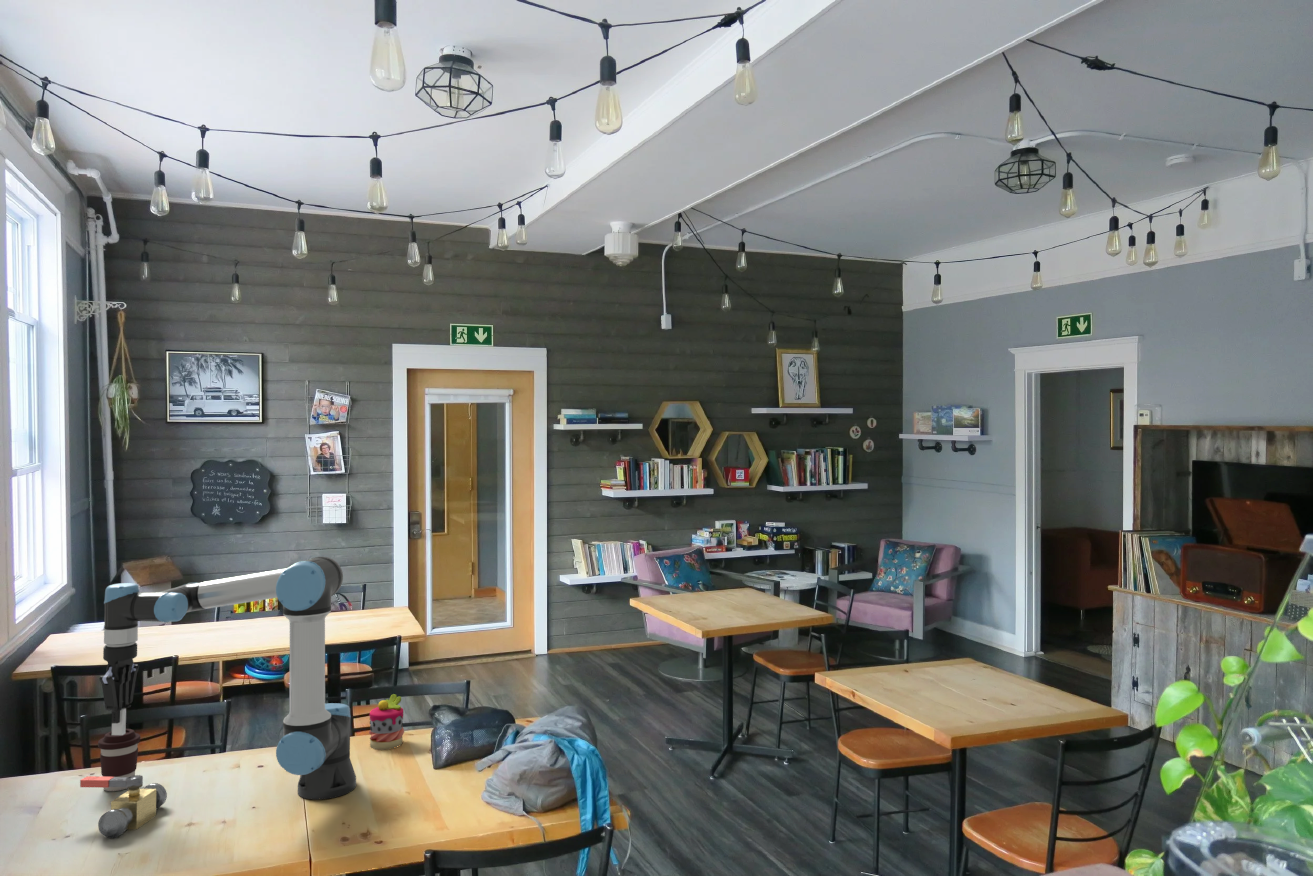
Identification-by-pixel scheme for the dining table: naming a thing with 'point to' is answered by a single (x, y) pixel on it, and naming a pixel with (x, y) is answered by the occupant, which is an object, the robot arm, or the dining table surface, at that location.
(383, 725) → the cake
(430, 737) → the dining table surface
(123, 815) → the valve
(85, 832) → the dining table surface
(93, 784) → the lever
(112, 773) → the coffee cup
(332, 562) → the robot arm
